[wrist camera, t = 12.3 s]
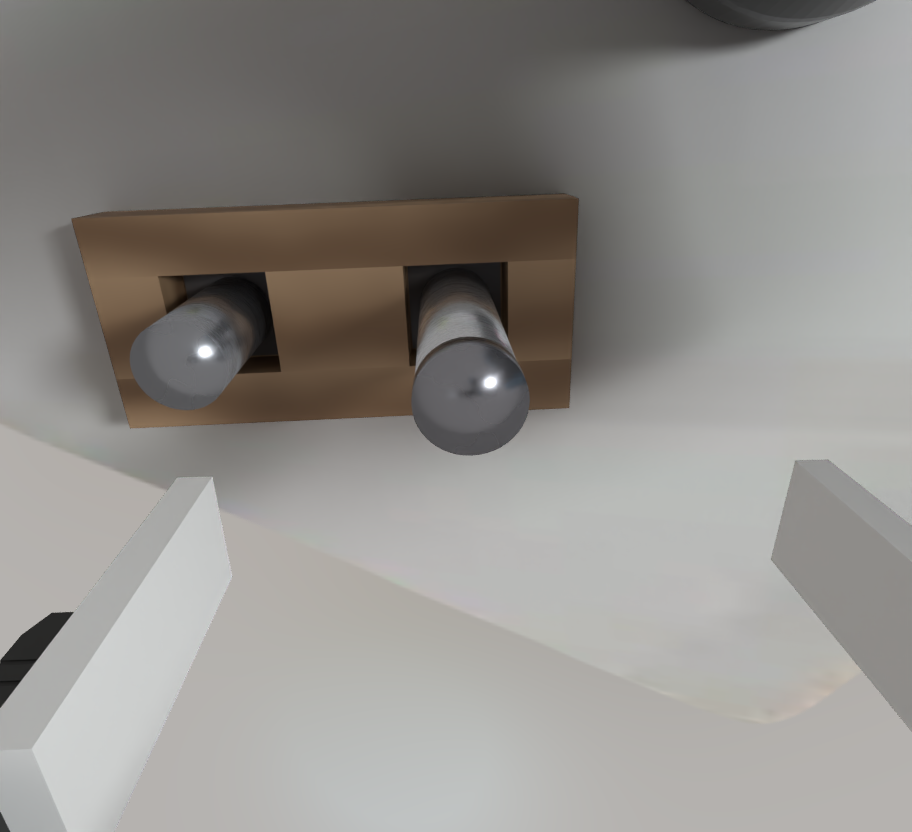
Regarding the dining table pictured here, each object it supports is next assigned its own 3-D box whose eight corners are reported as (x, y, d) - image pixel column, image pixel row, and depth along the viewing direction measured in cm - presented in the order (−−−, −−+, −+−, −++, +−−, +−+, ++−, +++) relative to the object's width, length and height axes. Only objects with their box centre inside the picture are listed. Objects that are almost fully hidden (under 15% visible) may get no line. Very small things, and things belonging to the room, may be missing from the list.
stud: (417, 268, 30) (407, 348, 18) (491, 265, 30) (530, 343, 18) (421, 340, 32) (415, 457, 20) (492, 337, 32) (528, 452, 20)
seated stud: (194, 277, 30) (119, 323, 22) (268, 275, 30) (217, 320, 23) (207, 347, 31) (141, 411, 24) (278, 345, 31) (233, 408, 24)
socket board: (105, 211, 29) (71, 218, 26) (565, 193, 29) (578, 198, 27) (155, 404, 33) (130, 428, 30) (558, 386, 33) (569, 408, 31)
